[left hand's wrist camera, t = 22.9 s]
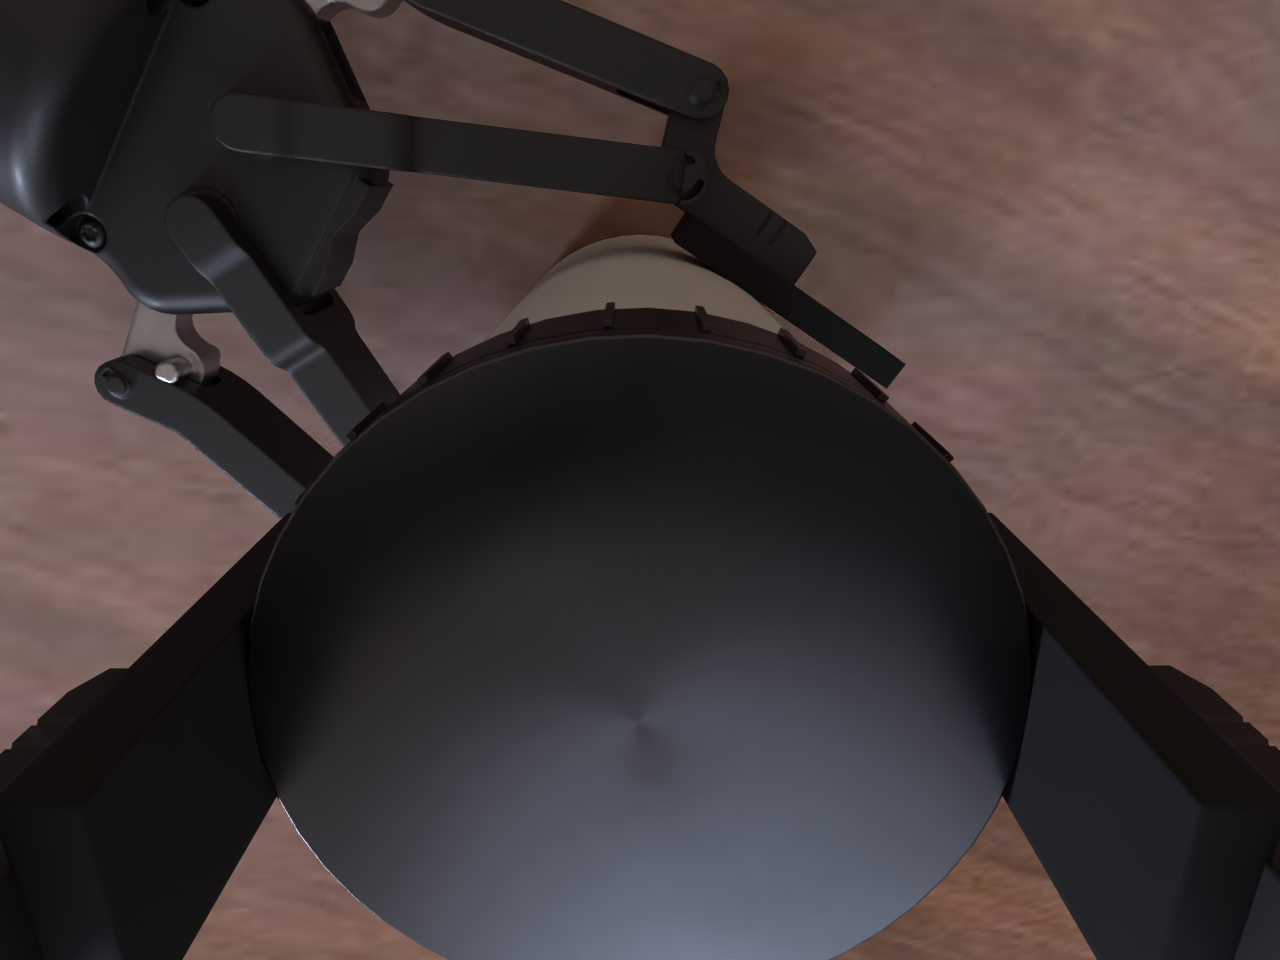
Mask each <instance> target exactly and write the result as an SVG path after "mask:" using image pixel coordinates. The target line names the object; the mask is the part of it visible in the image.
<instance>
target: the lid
mask: <svg viewBox="0 0 1280 960" xmlns="http://www.w3.org/2000/svg"><path fill="white" fill-rule="evenodd" d="M888 399H889V397H888V396H887V395H886V394H885V393H884V392H883V391H882V390H881V389H880V388H879V387H877V386H876V385H875V384H874V383H873V382H872V381H871V380H870V379H869V378H868V377H866V376H865V375H864V374H863V373H862V372H861V371H860V370H858V369H857V368H854V370H853V371H852V372H851V373H850V372H849V371H847V370H846V369H845V368H843V367H842V366H840V365H839V364H838V363H836V362H834V361H832V360H830V359H829V358H827V357H825V356H823V355H821V354H819V353H817V352H816V351H814V350H812V349H810V348H808V347H806V346H804V345H802V344H801V343H799V342H798V341H797V340H796V339H795V338H794V337H793V336H792V335H791V334H790V332H789V331H788V330H785V329H783V328H780V330H779V332H778V334H776V333H774V332H771V331H768V330H765V329H763V328H760V327H757V326H755V325H752V324H749V323H746V322H741V321H737V320H732V319H728V318H723V317H719V316H714V315H710V314H707V313H706V311H705V309H704V307H703V306H697V305H696V306H695V311H694V312H693V311H682V310H670V309H659V308H626V309H616V308H615V302H608V303H606V307H605V309H604V310H593V311H588V312H582V313H576V314H571V315H565V316H560V317H554V318H549V319H545V320H542V321H539V322H535V323H532V324H530V322H529V319H528V318H525V319H522V320H520V321H519V322H518V323H517V325H516V326H515V327H514V328H513V330H511V331H507V332H504V333H501V334H499V335H496V336H494V337H492V338H490V339H488V340H486V341H484V342H482V343H480V344H478V345H476V346H474V347H471V348H469V349H467V350H465V351H463V352H461V353H459V354H457V355H455V356H453V357H452V356H451V354H450V353H449V352H447V353H446V354H444V355H442V356H441V357H440V358H439V359H438V360H437V361H436V362H435V363H434V364H433V365H432V366H431V367H430V368H429V369H428V370H427V371H425V372H424V373H423V374H422V375H421V376H420V377H419V378H418V379H417V381H416V382H415V383H414V384H412V385H411V386H410V387H409V388H408V389H407V390H406V391H405V392H403V393H402V394H401V395H400V396H399V397H398V398H397V399H396V400H394V401H393V402H392V403H391V404H390V405H389V406H388V405H387V404H386V403H385V402H382V403H381V404H380V405H378V406H377V407H376V408H375V409H374V410H373V411H372V412H371V413H370V414H368V415H367V416H366V417H365V418H364V419H363V420H362V421H361V422H360V423H359V424H357V425H356V426H355V427H354V428H353V429H352V430H351V431H350V432H349V433H348V434H347V435H346V437H347V438H348V439H349V440H351V441H350V442H349V443H348V444H347V445H346V446H345V447H344V448H343V449H342V450H341V451H340V452H339V453H338V454H337V455H336V456H335V457H334V458H333V459H332V460H331V462H330V463H329V464H328V465H327V466H326V468H325V469H324V470H323V471H322V472H321V474H320V475H319V476H318V477H317V478H316V480H315V481H314V482H313V483H312V484H311V485H310V486H309V487H308V488H307V489H306V490H305V491H304V492H303V493H302V494H301V495H300V496H299V497H298V498H297V500H296V501H295V503H294V504H295V505H297V506H296V507H295V509H294V511H293V512H292V514H291V516H290V517H289V519H288V521H287V522H286V524H285V526H284V527H283V529H282V531H281V532H280V534H279V536H278V538H277V540H276V543H275V545H274V548H273V550H272V553H271V555H270V558H269V560H268V562H267V565H266V567H265V570H264V572H263V575H262V577H261V580H260V584H259V588H258V592H257V597H256V601H255V605H254V610H253V614H252V618H251V623H250V631H249V646H248V661H247V679H248V690H249V702H250V709H251V714H252V720H253V725H254V729H255V734H256V739H257V743H258V747H259V751H260V755H261V758H262V761H263V763H264V766H265V768H266V771H267V773H268V776H269V778H270V781H271V783H272V786H273V788H274V790H275V793H276V795H277V797H278V799H279V801H280V803H281V804H282V806H283V808H284V810H285V811H286V813H287V815H288V817H289V818H290V820H291V822H292V823H293V825H294V827H295V829H296V830H297V832H298V834H299V835H300V836H301V838H302V839H303V840H304V842H305V843H306V844H307V845H308V847H309V848H310V849H311V851H312V852H313V853H314V855H315V856H316V857H317V858H318V860H319V861H320V862H321V864H322V865H323V866H324V867H325V868H326V870H327V871H328V872H329V873H330V874H331V875H332V876H333V877H334V878H335V879H336V880H337V881H338V882H339V883H340V884H341V885H342V886H343V887H344V888H345V889H346V890H347V891H348V892H349V893H350V894H351V895H352V896H353V897H354V898H355V899H357V900H358V901H359V902H360V903H362V904H363V905H364V906H365V907H367V908H368V909H369V910H370V911H372V912H373V913H374V914H375V915H377V916H378V917H379V918H380V919H382V920H383V921H384V922H385V923H387V924H388V925H390V926H391V927H393V928H394V929H396V930H398V931H399V932H401V933H402V934H404V935H406V936H407V937H409V938H410V939H412V940H413V941H415V942H417V943H418V944H420V945H421V946H423V947H425V948H427V949H429V950H431V951H433V952H435V953H437V954H439V955H441V956H443V957H445V958H447V959H449V960H830V959H832V958H834V957H837V956H839V955H841V954H843V953H845V952H847V951H848V950H850V949H852V948H854V947H855V946H857V945H859V944H860V943H862V942H864V941H866V940H867V939H869V938H871V937H872V936H874V935H876V934H877V933H879V932H881V931H882V930H884V929H885V928H886V927H888V926H889V925H890V924H892V923H893V922H894V921H896V920H897V919H898V918H900V917H901V916H902V915H904V914H905V913H906V912H908V911H909V910H910V909H912V908H913V907H914V906H916V905H917V904H918V903H919V902H920V901H921V900H922V899H923V898H924V897H925V896H926V895H927V894H928V893H929V892H931V891H932V890H933V889H934V888H935V887H936V886H937V885H938V884H939V883H940V882H941V881H942V880H943V879H944V878H945V877H946V876H947V875H948V874H949V873H950V872H951V870H952V869H953V868H954V867H955V866H956V864H957V863H958V862H959V861H960V860H961V858H962V857H963V856H964V855H965V854H966V852H967V851H968V850H969V849H970V848H971V846H972V845H973V844H974V842H975V841H976V839H977V838H978V836H979V835H980V833H981V831H982V830H983V828H984V827H985V825H986V823H987V822H988V820H989V819H990V817H991V816H992V814H993V812H994V811H995V809H996V808H997V805H998V803H999V801H1000V799H1001V797H1002V794H1003V792H1004V790H1005V788H1006V786H1007V784H1008V781H1009V779H1010V777H1011V775H1012V773H1013V770H1014V768H1015V764H1016V761H1017V757H1018V754H1019V751H1020V747H1021V744H1022V740H1023V736H1024V731H1025V726H1026V720H1027V715H1028V709H1029V703H1030V696H1031V689H1032V659H1031V636H1030V630H1029V624H1028V619H1027V613H1026V608H1025V602H1024V596H1023V592H1022V590H1021V587H1020V584H1019V581H1018V578H1017V575H1016V572H1015V569H1014V567H1013V564H1012V561H1011V558H1010V555H1009V552H1008V550H1007V548H1006V546H1005V544H1004V542H1003V540H1002V538H1001V537H1000V535H999V533H998V531H997V530H998V528H997V525H996V523H995V522H994V521H993V520H992V519H991V518H990V516H989V514H988V512H987V510H986V509H985V507H984V505H983V504H982V503H981V501H980V500H979V499H978V498H977V496H976V495H975V494H974V492H973V491H972V490H971V488H970V487H969V486H968V484H967V483H966V482H965V480H964V479H963V478H962V476H961V475H960V474H959V472H958V471H957V470H956V468H955V467H954V466H953V465H952V464H951V463H950V462H951V461H952V460H953V459H954V458H953V456H952V455H951V454H950V453H949V452H948V451H947V450H946V449H945V448H944V447H943V446H942V445H940V444H939V443H938V442H937V441H936V440H935V439H934V438H933V437H932V436H931V435H929V434H928V433H927V432H926V431H925V430H924V429H923V428H922V427H921V426H920V425H919V424H917V423H916V422H914V423H913V424H910V423H909V422H908V421H907V420H906V419H905V418H903V417H902V416H901V415H900V414H899V413H898V412H897V411H896V410H895V409H894V408H893V407H892V406H891V405H890V404H889V403H888V402H886V401H887V400H888Z"/></svg>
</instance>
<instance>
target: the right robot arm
mask: <svg viewBox="0 0 1280 960" xmlns="http://www.w3.org/2000/svg"><path fill="white" fill-rule="evenodd" d="M402 1H403V0H0V203H2V204H4V205H5V206H7V207H9V208H10V209H12V210H14V211H16V212H17V213H19V214H21V215H22V216H24V217H26V218H27V219H29V220H31V221H32V222H34V223H36V224H38V225H39V226H41V227H43V228H44V229H46V230H48V231H50V232H52V233H54V234H55V235H57V236H59V237H61V238H63V239H65V240H67V241H69V242H71V243H74V244H76V245H78V246H80V247H82V248H84V249H86V250H88V251H90V252H92V253H93V254H95V255H96V256H98V257H99V258H100V259H102V260H103V261H104V262H105V263H106V264H107V265H108V266H109V267H110V268H111V269H112V270H113V271H114V272H115V274H116V275H117V276H118V277H119V279H120V280H121V281H122V283H123V284H124V286H125V287H126V289H127V290H128V291H129V293H130V294H131V295H132V296H133V297H134V298H135V299H137V300H138V302H137V305H136V309H135V312H134V316H133V319H132V323H131V326H130V330H129V333H128V337H127V340H126V344H125V347H124V351H123V354H122V356H121V357H119V358H116V359H113V360H111V361H108V362H105V363H104V364H102V365H101V366H99V368H98V369H97V371H96V373H95V385H96V388H97V391H98V392H99V394H100V395H101V396H102V397H103V398H104V399H105V400H106V401H108V402H109V403H111V404H112V405H115V406H117V407H119V408H121V409H124V410H126V411H128V412H131V413H133V414H135V415H138V416H140V417H142V418H145V419H147V420H149V421H151V422H154V423H156V424H158V425H161V426H163V427H165V428H168V429H170V430H172V431H175V432H177V433H178V434H179V435H180V436H181V437H183V438H184V439H185V440H186V441H187V442H189V443H190V444H191V445H192V446H193V447H195V448H196V449H197V450H198V451H199V452H201V453H202V454H203V455H204V456H205V457H206V458H208V459H209V460H210V461H211V462H212V463H214V464H215V465H216V466H217V467H218V468H220V469H221V470H222V471H223V472H224V473H226V474H227V475H228V476H229V477H230V478H232V479H233V480H234V481H235V482H236V483H238V484H239V485H240V486H241V487H242V488H244V489H245V490H246V491H247V492H248V493H250V494H251V495H252V496H253V497H254V498H256V499H257V500H258V501H259V502H260V503H261V504H263V505H264V506H265V507H266V508H267V509H269V510H270V511H271V512H272V513H273V514H275V515H276V516H277V517H278V518H279V519H282V518H283V517H284V516H285V515H286V514H287V513H292V512H293V511H294V509H295V507H296V506H297V505H295V504H294V503H295V501H296V500H297V498H298V497H299V496H300V495H301V494H302V493H303V492H304V491H305V490H306V489H307V488H308V487H309V486H310V485H311V484H312V483H313V482H314V481H315V480H316V478H317V477H318V476H319V475H320V474H321V472H322V471H323V470H324V469H325V468H326V466H327V465H328V464H329V463H330V462H331V460H332V459H333V458H334V457H333V456H332V455H331V454H330V453H328V452H327V451H326V450H325V449H324V448H323V447H322V446H320V445H319V444H318V443H317V442H316V441H315V440H314V439H313V438H311V437H310V436H309V435H308V434H307V433H306V432H305V431H303V430H302V429H301V428H300V427H299V426H298V425H297V424H295V423H294V422H293V421H292V420H291V419H290V418H289V417H287V416H286V415H285V414H284V413H283V412H282V411H281V410H279V409H278V408H277V407H276V406H275V405H274V404H273V403H271V402H270V401H269V400H268V399H267V398H266V397H265V396H263V395H262V394H261V393H260V392H259V391H258V390H256V389H255V388H254V387H253V386H251V385H250V384H249V383H248V382H246V381H245V380H243V379H242V378H240V377H239V376H237V375H236V374H234V373H233V372H231V371H229V370H227V369H225V368H223V367H221V366H220V357H221V354H220V352H219V350H218V349H217V348H216V347H215V346H214V345H211V344H209V343H208V342H206V341H205V340H204V339H203V338H201V337H200V336H199V334H198V333H197V332H196V330H195V328H194V325H193V320H192V315H193V314H202V313H223V312H233V313H234V315H235V316H236V317H237V319H238V320H239V322H240V323H241V324H242V326H243V327H244V328H245V330H246V331H247V332H248V334H249V335H250V336H251V338H252V339H253V340H254V342H255V343H256V345H257V346H258V347H259V349H260V350H261V351H262V353H263V354H264V355H265V356H266V358H267V359H268V360H269V361H270V362H271V363H273V364H274V365H275V366H277V367H279V368H282V369H284V370H285V371H287V372H288V373H289V374H290V376H291V377H292V378H293V379H294V381H295V382H296V384H297V385H298V386H299V388H300V389H301V390H302V392H303V393H304V394H305V396H306V397H307V399H308V400H309V401H310V403H311V404H312V405H313V407H314V408H315V409H316V411H317V412H318V414H319V415H320V416H321V418H322V419H323V420H324V422H325V423H326V424H327V426H328V427H329V429H330V430H331V431H332V433H333V434H334V435H335V437H336V438H337V439H338V441H339V442H340V444H341V445H342V446H343V448H344V447H345V446H346V445H347V444H348V443H349V442H350V441H351V440H349V439H348V438H347V437H346V435H347V434H348V433H349V432H350V431H351V430H352V429H353V428H354V427H355V426H356V425H357V424H359V423H360V422H361V421H362V420H363V419H364V418H365V417H366V416H367V415H368V414H370V413H371V412H372V411H373V410H374V409H375V408H376V407H377V406H378V405H380V404H381V403H382V402H385V403H386V404H387V405H388V406H389V405H390V404H391V403H392V402H393V401H394V400H396V399H397V398H398V397H399V396H400V394H399V392H398V391H397V389H396V388H395V387H394V385H393V384H392V382H391V381H390V379H389V378H388V376H387V375H386V374H385V372H384V371H383V369H382V368H381V366H380V365H379V363H378V362H377V361H376V359H375V358H374V356H373V355H372V353H371V352H370V350H369V349H368V348H367V346H366V345H365V343H364V342H363V340H362V339H361V338H360V336H359V335H358V333H357V331H356V328H355V322H354V318H353V316H352V314H351V312H350V311H349V309H348V307H347V306H346V305H345V303H344V302H343V300H342V299H341V297H340V296H339V294H338V293H337V291H336V290H335V289H334V288H335V287H338V286H340V285H341V283H342V281H343V279H344V277H345V275H346V274H347V272H348V270H349V268H350V266H351V264H352V262H353V258H354V253H355V248H356V244H357V239H358V234H359V232H360V230H361V229H362V228H363V227H364V226H365V225H366V224H367V223H368V222H369V221H370V220H371V219H372V218H373V217H374V216H375V215H376V214H377V212H378V211H379V210H380V209H381V207H382V205H383V203H384V201H385V199H386V197H387V196H388V194H389V192H390V190H391V188H392V186H393V184H392V183H390V182H389V181H388V178H389V170H396V171H406V172H417V173H426V174H434V175H442V176H450V177H459V178H467V179H475V180H483V181H491V182H499V183H507V184H516V185H524V186H532V187H540V188H548V189H556V190H565V191H573V192H581V193H589V194H597V195H605V196H614V197H622V198H630V199H638V200H646V201H654V202H663V203H671V204H674V205H676V206H677V207H678V208H680V209H681V210H683V211H684V212H685V213H684V215H683V216H682V218H681V219H680V221H679V223H678V224H677V226H676V227H675V229H674V230H673V232H672V233H671V236H672V238H673V240H674V242H675V243H676V244H677V245H679V246H680V247H681V248H683V249H684V250H686V251H687V252H689V253H690V254H692V255H693V256H695V257H696V258H697V259H699V260H700V261H702V262H703V263H705V264H706V265H708V266H709V267H711V268H712V269H713V270H715V271H716V272H718V273H719V274H721V275H722V276H724V277H725V278H727V279H728V280H729V281H731V282H732V283H734V284H735V285H737V286H738V287H740V288H741V289H743V290H744V291H745V292H747V293H748V294H750V295H751V296H753V297H754V298H756V299H757V300H758V301H760V302H761V303H763V304H764V305H766V306H767V307H769V308H770V309H772V310H773V311H774V312H776V313H777V314H779V315H780V316H782V317H783V318H785V319H786V320H788V321H789V322H790V323H792V324H793V325H795V326H796V327H798V328H799V329H801V330H802V331H804V332H805V333H806V334H808V335H809V336H811V337H812V338H814V339H815V340H817V341H818V342H820V343H821V344H822V345H824V346H825V347H827V348H828V349H830V350H831V351H833V352H834V353H836V354H837V355H838V356H840V357H841V358H843V359H844V360H846V361H847V362H849V363H850V364H852V365H853V366H854V367H856V368H857V369H859V370H860V371H862V372H863V373H865V374H866V375H868V376H869V377H870V378H872V379H873V380H875V381H876V382H878V383H879V384H881V385H882V386H884V387H885V388H886V389H887V388H888V386H889V385H890V384H891V383H892V381H893V380H894V379H895V377H896V376H897V375H898V374H899V372H900V371H901V370H902V368H903V367H904V366H905V365H906V364H904V363H903V362H902V361H900V360H899V359H898V358H896V357H895V356H894V355H892V354H891V353H890V352H888V351H887V350H885V349H884V348H883V347H881V346H880V345H879V344H877V343H876V342H874V341H873V340H872V339H870V338H869V337H867V336H866V335H864V334H863V333H862V332H860V331H859V330H857V329H856V328H854V327H853V326H852V325H850V324H849V323H847V322H846V321H844V320H843V319H841V318H840V317H839V316H837V315H836V314H834V313H833V312H831V311H830V310H829V309H827V308H826V307H824V306H823V305H821V304H820V303H819V302H817V301H816V300H814V299H813V298H811V297H810V296H809V295H807V294H806V293H804V292H803V291H801V290H800V289H799V288H797V287H796V286H794V284H795V283H796V281H797V280H798V279H799V277H800V276H801V274H802V273H803V272H804V270H805V269H806V267H807V266H808V265H809V263H810V262H811V260H812V259H813V257H814V256H815V255H816V253H817V252H816V251H815V249H814V247H813V246H812V244H811V242H810V241H809V239H808V237H807V236H806V234H804V233H803V232H802V231H800V230H799V229H797V228H796V227H795V226H793V225H792V224H790V223H789V222H788V221H786V220H785V219H784V218H782V217H781V216H779V215H778V214H777V213H775V212H774V211H772V210H771V209H770V208H768V207H767V206H765V205H764V204H763V203H761V202H760V201H758V200H757V199H756V198H754V197H753V196H751V195H750V194H749V193H747V192H746V191H744V190H743V189H742V188H740V187H739V186H737V185H736V184H735V183H733V182H732V181H730V180H729V179H728V178H727V177H726V176H725V175H724V174H723V173H722V172H721V170H720V169H719V167H718V165H717V162H716V159H715V142H716V138H717V134H718V130H719V126H720V122H721V118H722V114H723V110H724V106H725V104H726V102H727V99H728V93H729V87H728V81H727V78H726V76H725V75H724V73H723V72H722V70H721V69H720V68H718V67H717V66H715V65H714V64H712V63H710V62H708V61H705V60H703V59H700V58H698V57H696V56H693V55H691V54H688V53H686V52H684V51H681V50H679V49H676V48H674V47H672V46H669V45H667V44H664V43H662V42H660V41H657V40H655V39H652V38H650V37H648V36H645V35H643V34H640V33H638V32H636V31H633V30H631V29H628V28H626V27H624V26H621V25H619V24H616V23H614V22H612V21H609V20H607V19H604V18H602V17H600V16H597V15H595V14H592V13H590V12H588V11H585V10H583V9H580V8H578V7H576V6H573V5H571V4H568V3H566V2H564V1H561V0H404V1H406V2H407V3H408V4H410V5H411V6H413V7H414V8H416V9H417V10H419V11H420V12H422V13H424V14H425V15H427V16H428V17H430V18H432V19H434V20H436V21H438V22H440V23H443V24H445V25H447V26H449V27H451V28H454V29H456V30H459V31H461V32H464V33H466V34H469V35H471V36H474V37H476V38H478V39H481V40H483V41H486V42H488V43H491V44H493V45H496V46H498V47H501V48H503V49H506V50H508V51H511V52H513V53H515V54H518V55H520V56H523V57H525V58H528V59H530V60H533V61H535V62H538V63H540V64H543V65H545V66H547V67H550V68H552V69H555V70H557V71H560V72H562V73H565V74H567V75H570V76H572V77H575V78H577V79H579V80H582V81H584V82H587V83H589V84H592V85H594V86H597V87H599V88H602V89H604V90H607V91H609V92H611V93H614V94H616V95H619V96H621V97H624V98H626V99H629V100H631V101H634V102H636V103H639V104H641V105H643V106H646V107H648V108H651V109H653V110H656V111H658V112H661V113H663V114H666V115H668V119H667V124H666V128H665V132H664V137H663V141H662V146H661V147H653V146H646V145H638V144H630V143H622V142H614V141H606V140H598V139H590V138H582V137H574V136H566V135H558V134H550V133H542V132H534V131H526V130H518V129H510V128H502V127H494V126H486V125H478V124H470V123H462V122H454V121H446V120H438V119H430V118H422V117H415V116H409V115H402V114H394V113H387V112H379V111H371V110H370V109H369V106H368V104H367V102H366V100H365V97H364V95H363V93H362V91H361V89H360V86H359V84H358V82H357V80H356V77H355V75H354V73H353V71H352V69H351V66H350V64H349V62H348V60H347V57H346V55H345V53H344V51H343V49H342V46H341V44H340V42H339V40H338V37H337V35H336V33H335V31H334V28H333V26H332V24H331V22H330V20H331V19H332V18H333V17H334V16H335V14H336V13H338V12H340V11H342V10H345V9H356V10H360V11H362V12H364V13H366V14H368V15H370V16H372V17H376V18H383V17H387V16H389V15H391V14H393V13H394V12H395V11H396V10H397V8H398V7H399V6H400V4H401V3H402Z"/></svg>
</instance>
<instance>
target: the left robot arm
mask: <svg viewBox="0 0 1280 960" xmlns="http://www.w3.org/2000/svg"><path fill="white" fill-rule="evenodd" d="M291 514H292V513H287V514H286V515H285V516H284V517H283V518H282V519H281V520H280V521H279V522H278V523H277V524H276V525H275V526H274V527H273V528H272V529H271V530H270V531H269V532H268V533H267V534H266V535H265V536H263V537H262V538H261V539H260V540H259V541H258V542H257V543H256V544H255V545H254V546H253V547H252V548H251V549H250V550H249V551H248V552H247V553H246V554H245V555H244V556H243V557H242V558H241V559H240V560H239V561H238V562H237V563H236V564H235V565H234V566H233V567H232V568H231V569H230V570H229V571H228V572H227V573H226V574H225V575H224V576H223V577H222V578H221V579H219V580H218V581H217V582H216V583H215V584H214V585H213V586H212V587H211V588H210V589H209V590H208V591H207V592H206V593H205V594H204V595H203V596H202V597H201V598H200V599H199V600H198V601H197V602H196V603H195V604H194V605H193V606H192V607H191V608H190V609H189V610H188V611H187V612H186V613H185V614H184V615H183V616H182V617H181V618H180V619H179V620H178V621H177V622H175V623H174V624H173V625H172V626H171V627H170V628H169V629H168V630H167V631H166V632H165V633H164V634H163V635H162V636H161V637H160V638H159V639H158V640H157V641H156V642H155V643H154V644H153V645H152V646H151V647H150V648H149V649H148V650H147V651H146V652H145V653H144V654H143V655H142V656H141V657H140V658H139V659H138V660H137V661H136V662H135V663H134V664H133V665H132V666H130V667H129V668H110V669H108V670H106V671H105V672H103V673H101V674H99V675H98V676H96V677H94V678H92V679H90V680H89V681H87V682H85V683H83V684H82V685H80V686H78V687H76V688H74V689H73V690H71V691H69V692H68V693H66V694H65V695H64V696H63V697H62V698H61V699H60V700H59V701H58V702H57V703H56V704H54V705H53V706H52V707H51V708H50V709H49V710H48V711H47V712H46V713H45V714H44V715H42V716H41V717H40V718H39V719H38V723H37V725H36V726H30V727H29V728H28V729H27V730H26V731H25V732H24V733H23V734H22V735H21V736H20V737H18V738H17V739H16V740H15V741H14V742H13V743H12V748H11V749H5V750H4V751H3V752H2V753H1V754H0V960H182V959H183V958H184V956H185V954H186V952H187V951H188V949H189V947H190V945H191V944H192V942H193V940H194V939H195V937H196V935H197V933H198V932H199V930H200V928H201V926H202V925H203V923H204V921H205V920H206V918H207V916H208V914H209V913H210V911H211V909H212V907H213V906H214V904H215V902H216V901H217V899H218V897H219V895H220V894H221V892H222V890H223V888H224V887H225V885H226V883H227V881H228V880H229V878H230V876H231V875H232V873H233V871H234V869H235V868H236V866H237V864H238V862H239V861H240V859H241V857H242V856H243V854H244V852H245V850H246V849H247V847H248V845H249V843H250V842H251V840H252V838H253V837H254V835H255V833H256V831H257V830H258V828H259V826H260V824H261V823H262V821H263V819H264V817H265V816H266V814H267V812H268V811H269V809H270V807H271V805H272V804H273V802H274V800H275V798H276V797H277V795H276V793H275V790H274V788H273V786H272V783H271V781H270V778H269V776H268V773H267V771H266V768H265V766H264V763H263V761H262V758H261V755H260V751H259V747H258V743H257V739H256V734H255V729H254V725H253V720H252V714H251V709H250V702H249V690H248V679H247V661H248V646H249V631H250V623H251V618H252V614H253V610H254V605H255V601H256V597H257V592H258V588H259V584H260V580H261V577H262V575H263V572H264V570H265V567H266V565H267V562H268V560H269V558H270V555H271V553H272V550H273V548H274V545H275V543H276V540H277V538H278V536H279V534H280V532H281V531H282V529H283V527H284V526H285V524H286V522H287V521H288V519H289V517H290V516H291ZM988 514H989V516H990V518H991V519H992V520H993V521H994V522H995V523H996V525H997V528H998V530H997V531H998V533H999V535H1000V537H1001V538H1002V540H1003V542H1004V544H1005V546H1006V548H1007V550H1008V552H1009V555H1010V558H1011V561H1012V564H1013V567H1014V569H1015V572H1016V575H1017V578H1018V581H1019V584H1020V587H1021V590H1022V592H1023V596H1024V602H1025V608H1026V613H1027V619H1028V624H1029V630H1030V636H1031V659H1032V689H1031V696H1030V703H1029V709H1028V715H1027V720H1026V726H1025V731H1024V736H1023V740H1022V744H1021V747H1020V751H1019V754H1018V757H1017V761H1016V764H1015V768H1014V770H1013V773H1012V775H1011V777H1010V779H1009V781H1008V784H1007V786H1006V788H1005V790H1004V792H1003V794H1002V796H1003V798H1004V799H1005V801H1006V803H1007V805H1008V806H1009V808H1010V810H1011V811H1012V813H1013V815H1014V817H1015V818H1016V820H1017V822H1018V824H1019V825H1020V827H1021V829H1022V831H1023V832H1024V834H1025V836H1026V837H1027V839H1028V841H1029V843H1030V844H1031V846H1032V848H1033V850H1034V851H1035V853H1036V855H1037V856H1038V858H1039V860H1040V862H1041V863H1042V865H1043V867H1044V869H1045V870H1046V872H1047V874H1048V875H1049V877H1050V879H1051V881H1052V882H1053V884H1054V886H1055V888H1056V889H1057V891H1058V893H1059V895H1060V896H1061V898H1062V900H1063V901H1064V903H1065V905H1066V907H1067V908H1068V910H1069V912H1070V914H1071V915H1072V917H1073V919H1074V920H1075V922H1076V924H1077V926H1078V927H1079V929H1080V931H1081V933H1082V934H1083V936H1084V938H1085V940H1086V941H1087V943H1088V945H1089V946H1090V948H1091V950H1092V952H1093V953H1094V955H1095V957H1096V959H1097V960H1280V750H1279V749H1277V748H1276V747H1275V746H1269V744H1268V739H1266V738H1265V737H1264V736H1263V735H1262V734H1261V733H1260V732H1259V731H1258V730H1257V729H1255V728H1254V727H1253V726H1252V725H1251V724H1250V723H1249V722H1243V717H1242V716H1241V715H1240V714H1239V713H1238V712H1237V711H1236V710H1235V709H1233V708H1232V707H1231V706H1230V705H1229V704H1228V703H1227V702H1226V701H1225V700H1224V699H1222V698H1221V697H1220V696H1219V695H1218V694H1217V693H1216V692H1215V691H1214V690H1213V689H1211V688H1209V687H1207V686H1206V685H1204V684H1202V683H1200V682H1198V681H1197V680H1195V679H1193V678H1191V677H1189V676H1188V675H1186V674H1184V673H1182V672H1181V671H1179V670H1177V669H1175V668H1173V667H1172V666H1148V665H1147V664H1146V663H1145V662H1144V661H1143V660H1142V659H1141V658H1140V657H1139V656H1138V655H1137V654H1136V653H1135V652H1134V651H1133V650H1132V649H1131V648H1129V647H1128V646H1127V645H1126V644H1125V643H1124V642H1123V641H1122V640H1121V639H1120V638H1119V637H1118V636H1117V635H1116V634H1115V633H1114V632H1113V631H1112V630H1111V629H1110V628H1109V627H1108V626H1107V625H1106V624H1105V623H1104V622H1103V621H1102V620H1101V619H1100V618H1099V617H1098V616H1097V615H1096V614H1095V613H1094V612H1093V611H1092V610H1091V609H1090V608H1089V607H1088V606H1087V605H1086V604H1084V603H1083V602H1082V601H1081V600H1080V599H1079V598H1078V597H1077V596H1076V595H1075V594H1074V593H1073V592H1072V591H1071V590H1070V589H1069V588H1068V587H1067V586H1066V585H1065V584H1064V583H1063V582H1062V581H1061V580H1060V579H1059V578H1058V577H1057V576H1056V575H1055V574H1054V573H1053V572H1052V571H1051V570H1050V569H1049V568H1048V567H1047V566H1046V565H1045V564H1044V563H1043V562H1042V561H1040V560H1039V559H1038V558H1037V557H1036V556H1035V555H1034V554H1033V553H1032V552H1031V551H1030V550H1029V549H1028V548H1027V547H1026V546H1025V545H1024V544H1023V543H1022V542H1021V541H1020V540H1019V539H1018V538H1017V537H1016V536H1015V535H1014V534H1013V533H1012V532H1011V531H1010V530H1009V529H1008V528H1007V527H1006V526H1005V525H1004V524H1003V523H1002V522H1001V521H1000V520H999V519H998V518H996V517H995V516H994V515H993V514H992V513H988Z"/></svg>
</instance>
